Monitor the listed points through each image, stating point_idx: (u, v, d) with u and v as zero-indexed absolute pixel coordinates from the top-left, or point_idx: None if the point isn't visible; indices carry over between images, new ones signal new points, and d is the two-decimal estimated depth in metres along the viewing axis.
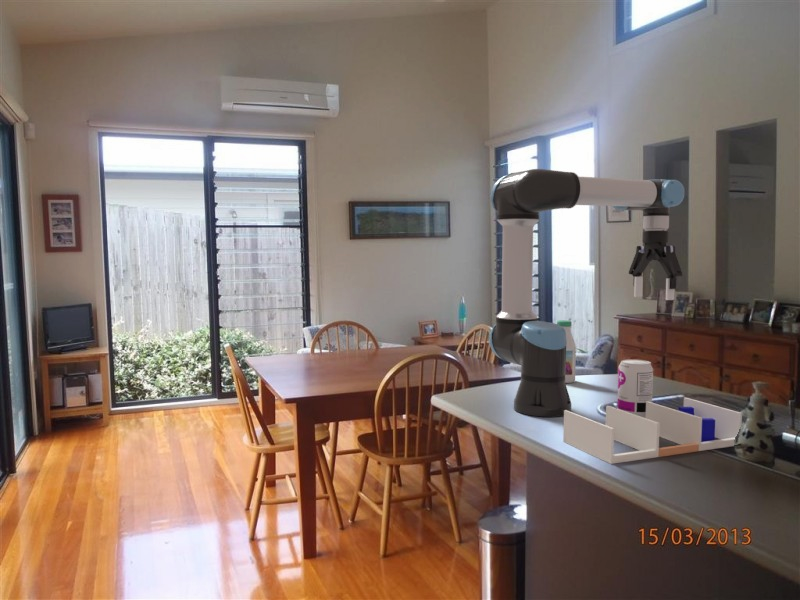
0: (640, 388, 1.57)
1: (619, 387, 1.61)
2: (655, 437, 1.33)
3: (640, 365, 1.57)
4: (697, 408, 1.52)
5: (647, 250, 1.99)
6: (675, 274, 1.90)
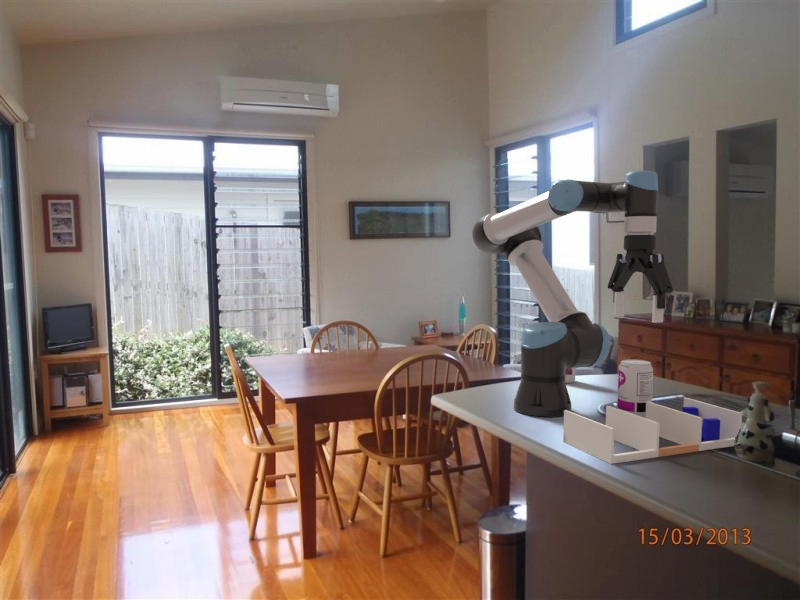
0: (640, 388, 1.57)
1: (619, 387, 1.61)
2: (655, 437, 1.33)
3: (640, 365, 1.57)
4: None
5: (629, 259, 1.59)
6: (664, 290, 1.50)
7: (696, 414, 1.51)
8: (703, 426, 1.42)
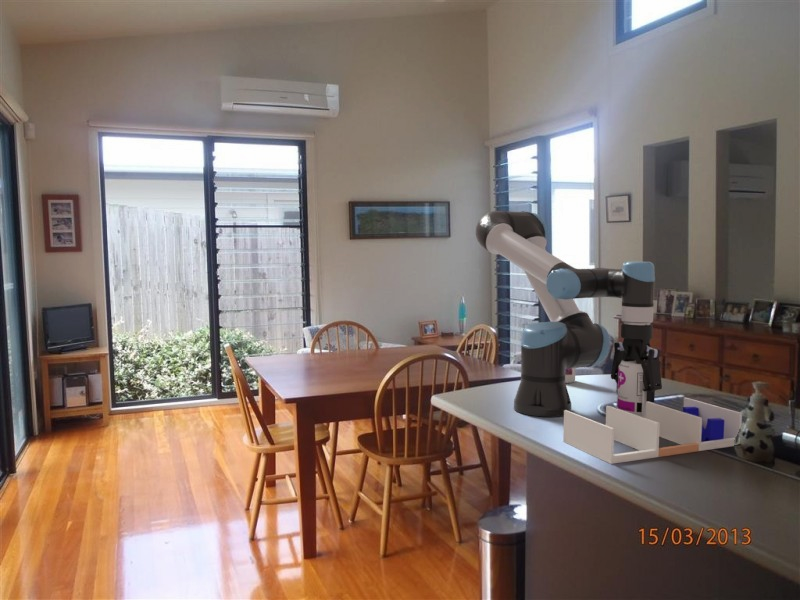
0: (640, 388, 1.57)
1: (619, 387, 1.61)
2: (655, 437, 1.33)
3: (640, 365, 1.57)
4: None
5: (626, 347, 1.61)
6: (653, 388, 1.54)
7: (697, 414, 1.51)
8: (707, 426, 1.42)
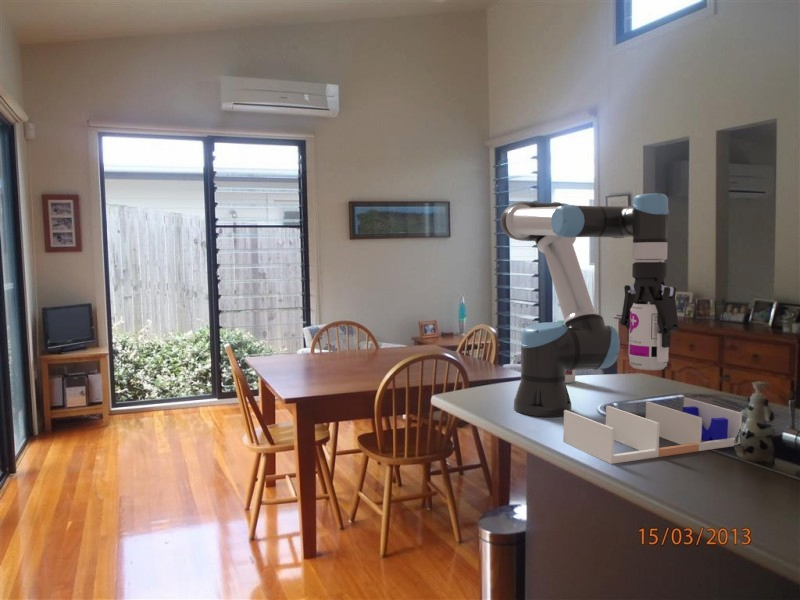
0: (655, 330, 1.45)
1: (631, 331, 1.48)
2: (655, 437, 1.33)
3: (654, 305, 1.45)
4: None
5: (638, 288, 1.48)
6: (669, 328, 1.41)
7: (697, 414, 1.51)
8: (711, 426, 1.42)
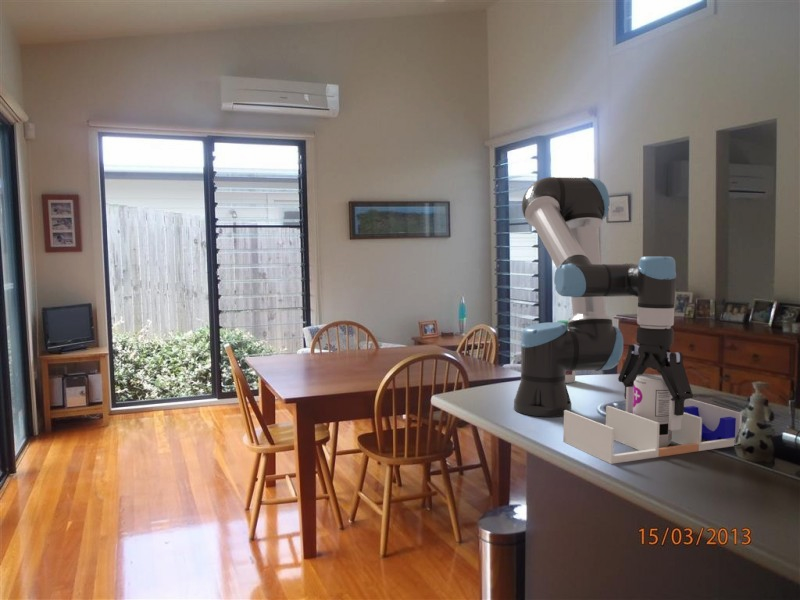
0: (659, 407, 1.38)
1: (634, 405, 1.42)
2: (655, 437, 1.33)
3: (659, 381, 1.38)
4: None
5: (643, 354, 1.41)
6: (683, 396, 1.32)
7: (697, 413, 1.51)
8: (720, 426, 1.42)
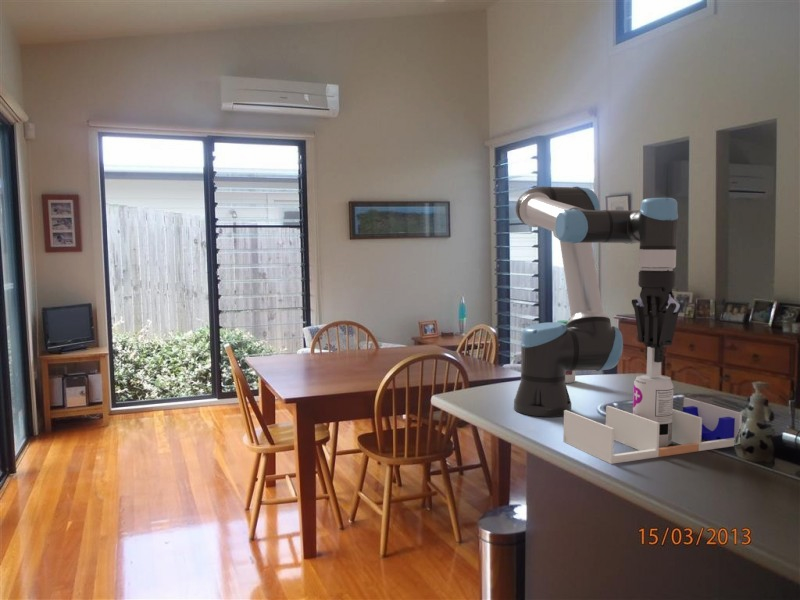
0: (659, 407, 1.38)
1: (634, 405, 1.42)
2: (655, 437, 1.33)
3: (659, 381, 1.38)
4: None
5: (645, 297, 1.40)
6: (661, 344, 1.37)
7: (696, 413, 1.51)
8: (719, 426, 1.42)
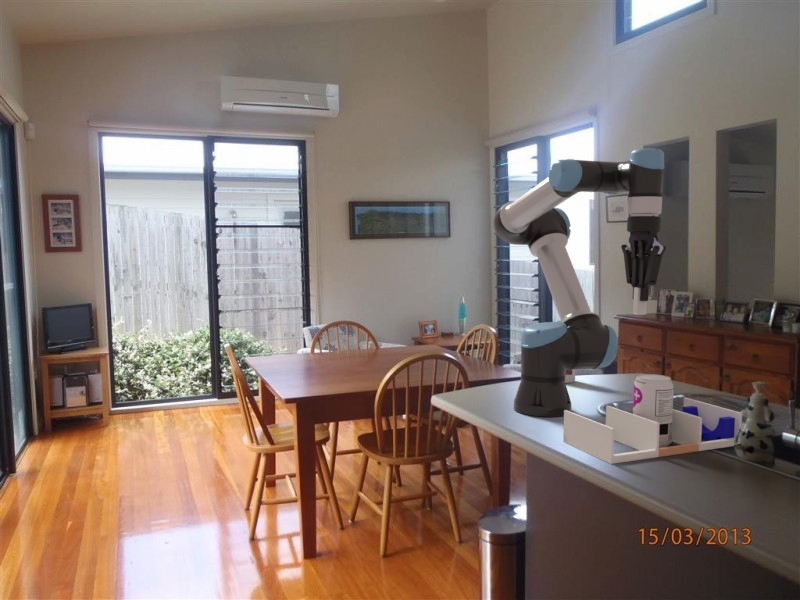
0: (659, 407, 1.38)
1: (634, 405, 1.42)
2: (655, 437, 1.33)
3: (659, 381, 1.38)
4: (697, 408, 1.52)
5: (632, 241, 1.53)
6: (646, 283, 1.49)
7: (696, 413, 1.51)
8: (719, 425, 1.42)
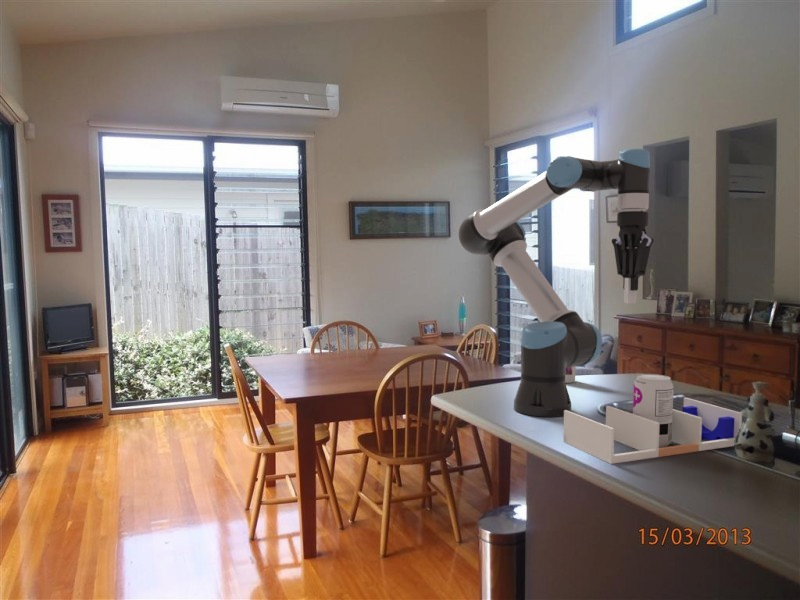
0: (659, 407, 1.38)
1: (634, 405, 1.42)
2: (655, 437, 1.33)
3: (659, 381, 1.38)
4: (697, 408, 1.52)
5: (622, 235, 1.64)
6: (636, 274, 1.61)
7: (696, 413, 1.52)
8: (718, 425, 1.42)
